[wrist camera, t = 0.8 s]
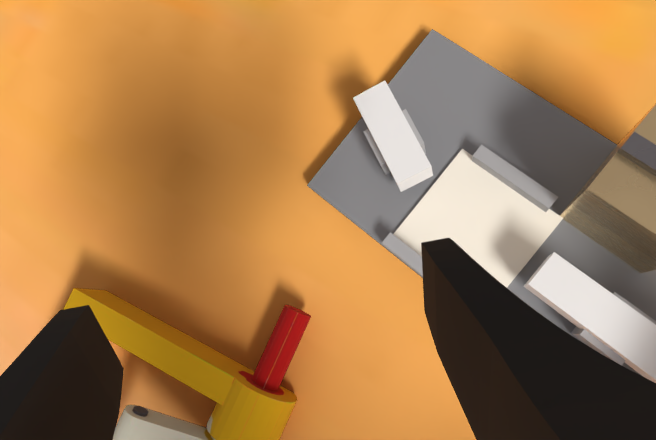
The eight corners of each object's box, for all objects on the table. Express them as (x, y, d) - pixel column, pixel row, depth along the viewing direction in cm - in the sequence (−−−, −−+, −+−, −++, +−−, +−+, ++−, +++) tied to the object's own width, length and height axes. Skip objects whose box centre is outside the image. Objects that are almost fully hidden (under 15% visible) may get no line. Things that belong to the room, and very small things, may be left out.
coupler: (700, 199, 25) (780, 161, 19) (640, 273, 25) (701, 259, 19) (615, 146, 26) (664, 93, 20) (558, 216, 26) (589, 185, 20)
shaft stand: (759, 244, 25) (812, 232, 21) (609, 427, 25) (636, 446, 21) (433, 38, 30) (429, -1, 27) (311, 189, 31) (291, 171, 27)
